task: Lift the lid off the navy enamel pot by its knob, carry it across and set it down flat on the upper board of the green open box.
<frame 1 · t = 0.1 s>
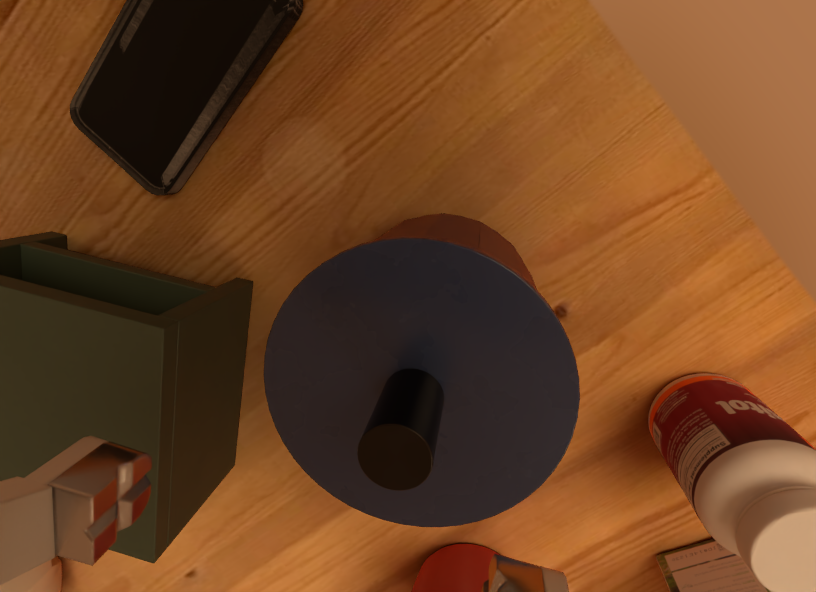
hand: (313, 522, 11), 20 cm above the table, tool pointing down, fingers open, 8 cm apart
pot: (441, 304, 30), on the table
lid: (415, 390, 19), point 11 cm above the table, touching pot
green open box: (147, 353, 34), on the table
pill bottle: (696, 413, 29), on the table
phone: (187, 62, 28), on the table
syrup box: (709, 568, 32), on the table
vase: (21, 546, 43), on the table
flower pot: (470, 581, 36), on the table
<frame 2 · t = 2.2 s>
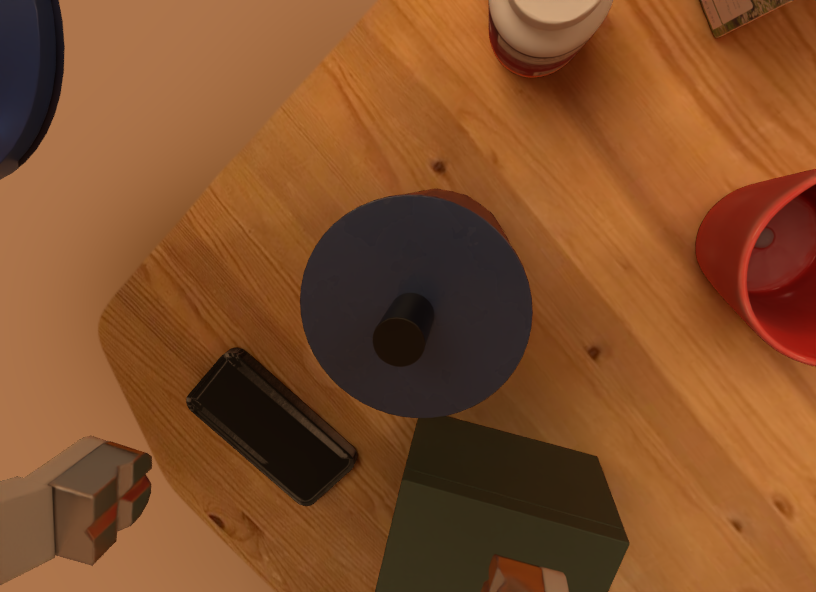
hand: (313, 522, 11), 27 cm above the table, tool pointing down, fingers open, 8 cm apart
pot: (435, 265, 36), on the table
lid: (413, 311, 25), point 11 cm above the table, touching pot
green open box: (485, 503, 41), on the table
pill bottle: (535, 29, 31), on the table
phone: (275, 424, 43), on the table
flower pot: (754, 238, 32), on the table
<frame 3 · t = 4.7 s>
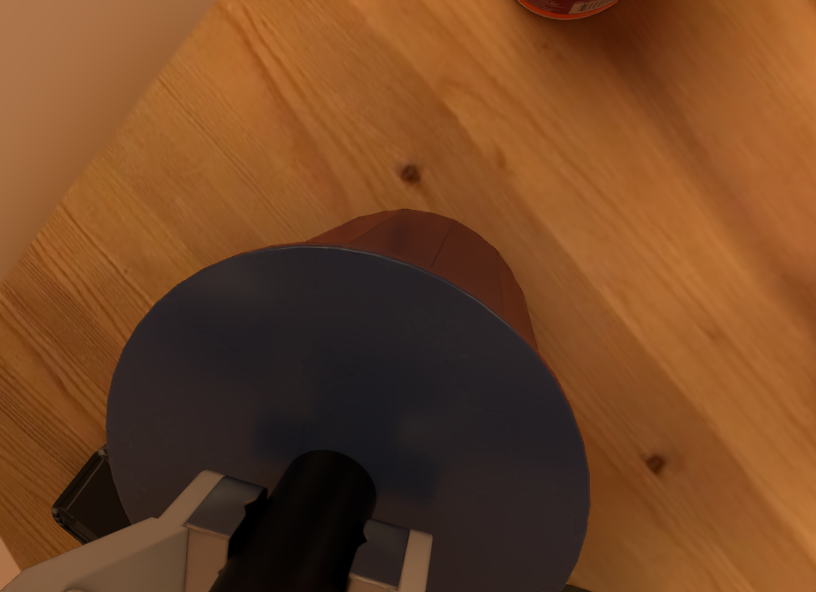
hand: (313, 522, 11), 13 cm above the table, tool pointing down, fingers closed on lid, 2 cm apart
pot: (406, 326, 23), on the table
lid: (335, 477, 12), point 12 cm above the table, touching gripper, pot
phone: (182, 543, 30), on the table
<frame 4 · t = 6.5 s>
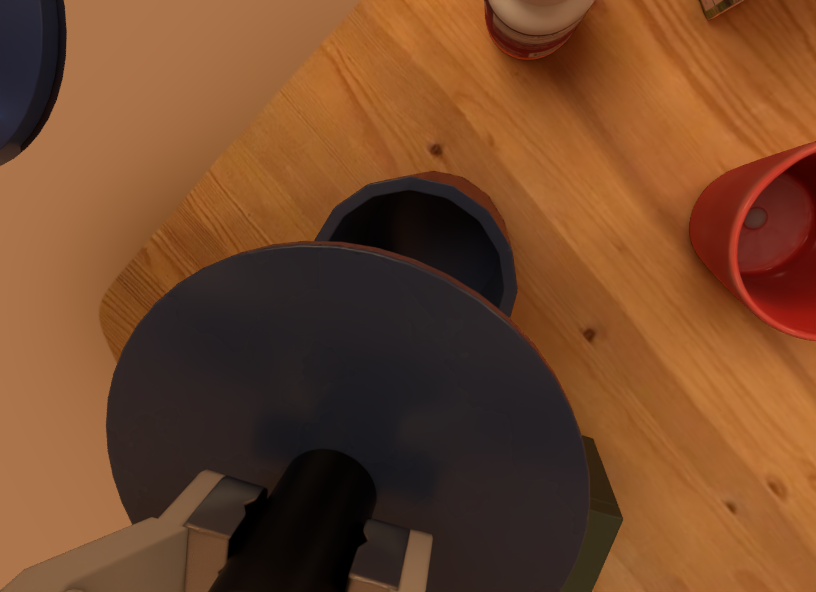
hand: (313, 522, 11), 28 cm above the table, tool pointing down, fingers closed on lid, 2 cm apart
pot: (432, 247, 37), on the table
lid: (336, 476, 12), point 26 cm above the table, touching gripper
green open box: (481, 486, 42), on the table
pill bottle: (531, 11, 31), on the table
flower pot: (747, 219, 33), on the table
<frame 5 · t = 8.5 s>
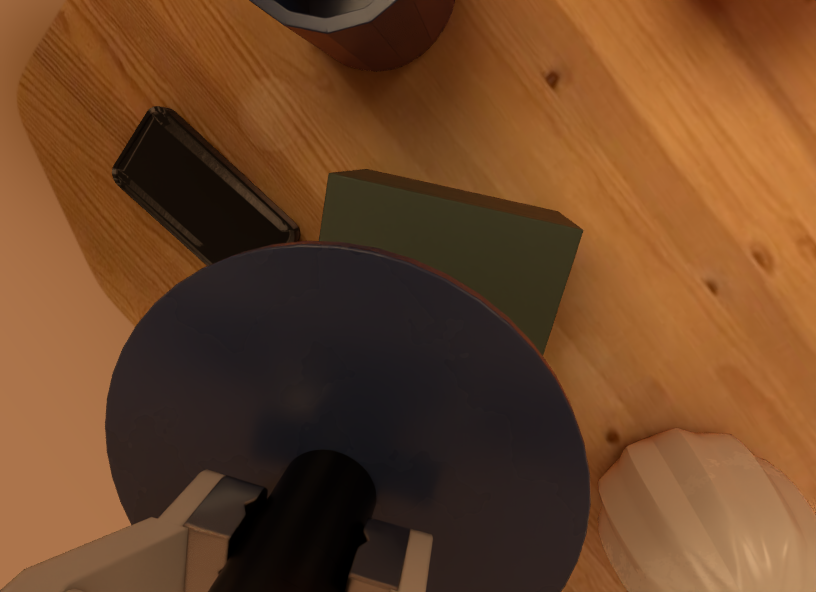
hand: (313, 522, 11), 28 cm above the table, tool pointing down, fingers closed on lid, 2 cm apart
lid: (335, 477, 12), point 27 cm above the table, touching gripper
green open box: (439, 282, 38), on the table
phone: (210, 203, 39), on the table
vase: (671, 478, 40), on the table
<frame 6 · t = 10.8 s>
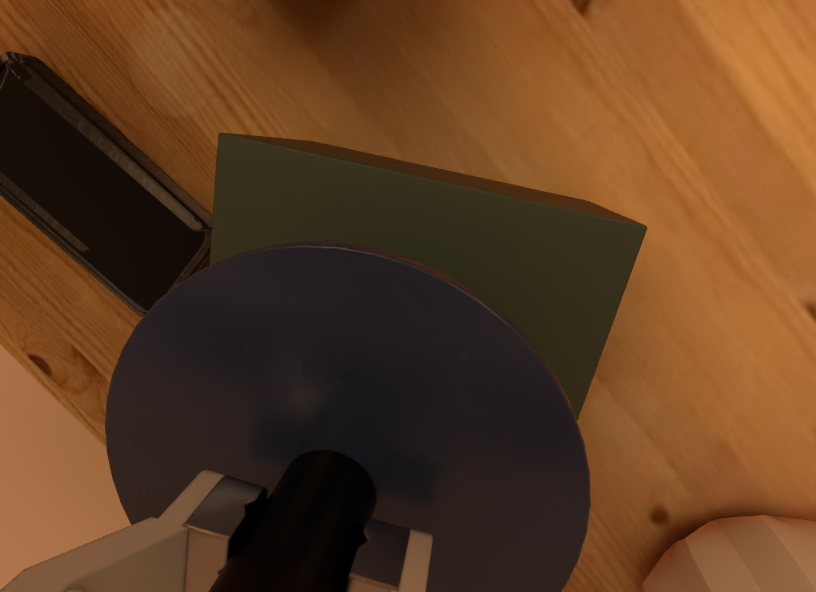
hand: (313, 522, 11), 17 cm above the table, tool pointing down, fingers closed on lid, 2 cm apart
lid: (335, 477, 12), point 16 cm above the table, touching gripper
green open box: (416, 302, 27), on the table
phone: (100, 192, 28), on the table
vase: (741, 572, 29), on the table
when the fingers open (11 cm above the table, at t = 12.4 s): lid stays where it is, resting on green open box.
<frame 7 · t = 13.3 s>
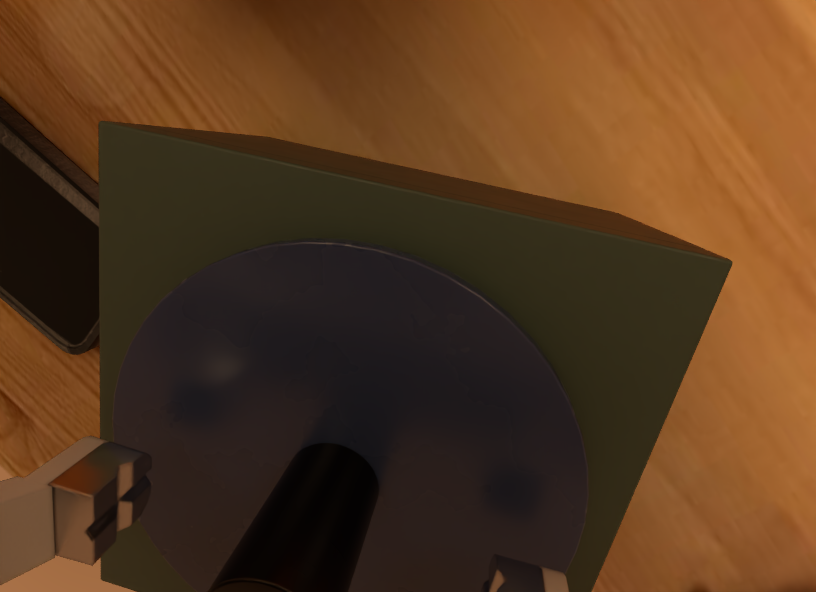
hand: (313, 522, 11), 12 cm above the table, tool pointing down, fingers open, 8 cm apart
lid: (338, 470, 12), point 10 cm above the table, touching green open box
green open box: (401, 337, 22), on the table
phone: (14, 200, 23), on the table
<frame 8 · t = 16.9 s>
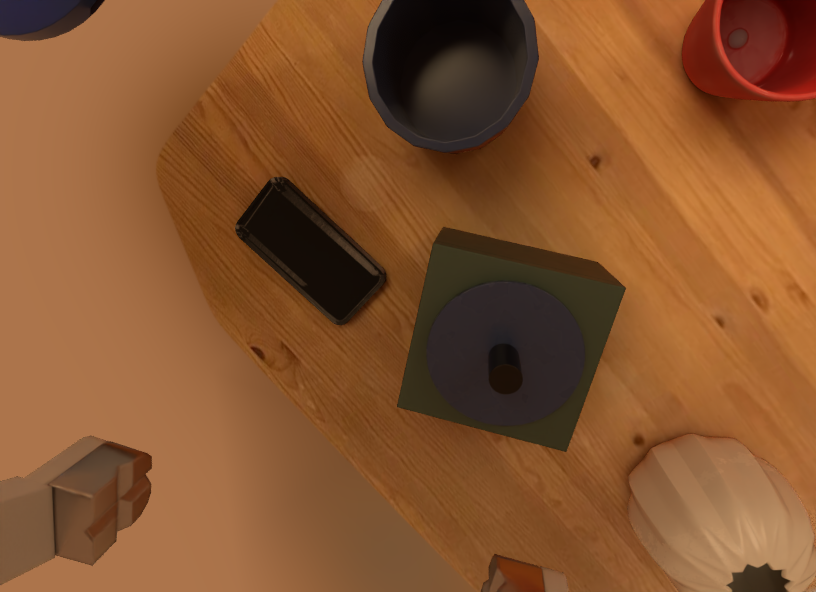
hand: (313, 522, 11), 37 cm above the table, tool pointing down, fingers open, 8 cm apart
pot: (457, 85, 42), on the table
lid: (503, 354, 38), point 10 cm above the table, touching green open box
green open box: (499, 316, 47), on the table
phone: (313, 251, 48), on the table
vase: (686, 474, 49), on the table
flower pot: (731, 44, 38), on the table
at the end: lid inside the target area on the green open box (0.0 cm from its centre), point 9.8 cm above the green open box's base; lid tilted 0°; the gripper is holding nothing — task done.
